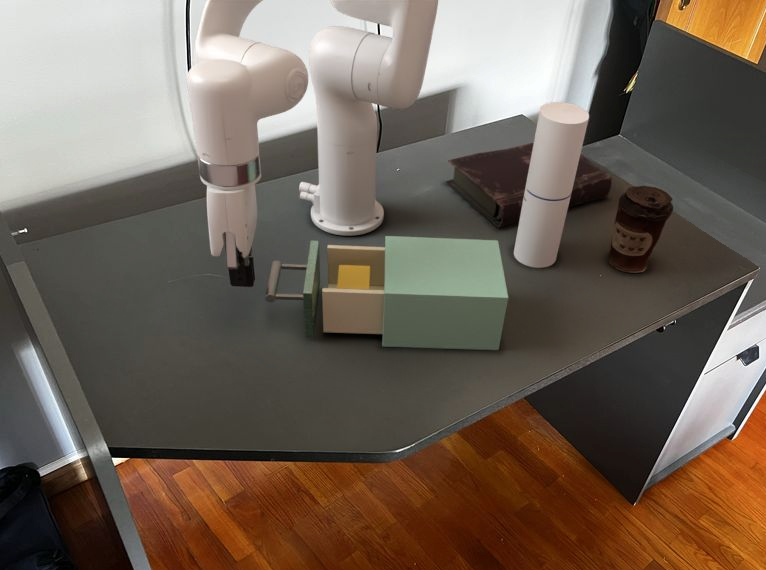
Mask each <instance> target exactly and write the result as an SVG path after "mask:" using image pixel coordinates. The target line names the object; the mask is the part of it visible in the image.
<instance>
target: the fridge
mask: <svg viewBox="0 0 766 570" xmlns="http://www.w3.org/2000/svg"><path fill="white" fill-rule="evenodd" d="M384 237H385V238H384V239H385V240H384V247H385V284H384V314H383V334H381V335H382V337H381V338H382V339H381V340H382V341H381V342H382V343H381V347H383V348H385V347H386V348H412V349H413V348H414V349H415V348H417V349H418V348H419V349H446V350H447V349H448V350H477V351H478V350H479V351H499V350H500V345H501V340H502V335H503V334H502V333H503V329H504V323H505V317H506V312H507V308H508V307H507V306H508V302H509V294H508V288H507V284H506V277H505V271H504V266H503V260H502V254H501V249H500V245H499V240H497V239H495V240H493V239H471V238H468V239H467V238H450V237H449V238H448V237H446V238H445V237H422V236H419V237H418V236H399V235H398V236H397V235H385V236H384Z"/></svg>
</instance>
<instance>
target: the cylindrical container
mask: <svg viewBox="0 0 766 570" xmlns="http://www.w3.org/2000/svg"><path fill="white" fill-rule="evenodd" d="M589 119H590V113H589V112H588V111H587V110H586V109H585V108H583V107H581V106H579V105H576V104H573V103H569V102H563V101H552V102H547V103H545V104H543V105H541V106H540V108H539V112H538V117H537V123H536V129H535V134H534V139H533V142H534V144H533V150H532V155H531V160H530V166H529V171H528V177H527V182H526V187H525V193H524V198H523V204H522V209H521V215H520V220H519V221H518V227H517V231H516V237H515V241H514V242H515V243H514V249H513V257H514V258H515V259H516V260H517V261H518V262H519V263H520V264H522V265H524V266H527V267H530V268H536V269H542V268H548V267H551V266H552V265H553V264H554V263H555V262H556V261H557V257H558V252H559V248H560V244H561V239H562V235H563V231H564V227H565V223H566V219H567V213H568V210H569V207H568V206H569V201H570V197H571V192H572V188H573V184H574V180H575V175H576V171H577V167H578V162H579V158H580V154H582V149H583V144H584V140H585V137H586V132H587V127H588V124H589V121H590V120H589Z"/></svg>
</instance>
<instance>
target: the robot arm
mask: <svg viewBox="0 0 766 570" xmlns="http://www.w3.org/2000/svg"><path fill="white" fill-rule="evenodd" d="M263 1H264V0H206V1H205V4H204V7H203V10H202V13H201V17H200V21H199V25H198V29H197V33H196V37H195V42H194V47H193V55H192V66H191V67H190V69H189V70H188V73H187V77H186V87H187V95H188V102H189V107H190V114H191V115H190V116H191V123H192V129H193V130H192V131H193V137H194V143H195V150H196V157H197V158H196V159H197V164H198V165H197V166H198V172H199V177H200V179H199V180H201V182H202V184H204V185H205V186H206V215H207V216H206V217H207V227H208V238H209V239H208V240H209V249H210V254H211V256H212V257H214V258H216V257H219V258H220V257H221V254H222V251H223V248H224V250H225V256H226V266H227V270H228V275H229V284H230V286H231V287H241V288H253V287H254V284H255V282H256V280H255V279H256V274H255V273H256V272H255V262H254V257H253V245H252V244H253V241H254V238H255V234H256V230H257V226H258V202H257V191H256V184H257V183H258V182H259V181H260V180H261V178H262V167H261V154H260V143H259V131H258V129H259V128H258V123H259V120H262V119H266V118H269V117H272V116H276V115H280V114H283V113H285V112H288V111H290V110H291V109H293V108H294V107H296V106H297V105H298V104H299V103H300V102H301V101H302V100H303V98H304V97H305V95H306V92H307V90H308V87H309V75H310V79H311V84H312V87H313V94H314V99H315V108H316V109H315V110H316V126H317V160H318V161H317V163H318V165H317V166H318V167H317V168H318V184H317V185H316V184H313V183H309V182H305V181H301V182H300V183H299V187H298V192H299V199H300V200H302V201H306V202H311V204H312V205H311V207H310V218H311V221H312V223H313V224H314V225H315V226H316V227H317V228H318V229H320V230H322V231H324V232H326V233H328V234H332V235H335V236H344V237H345V236H347V237H348V236H349V237H353V236H360V235H364V234H367V233H370V232H373V231H374V230H376V229H377V228H379V227H380V226H381V225H382V223H383V221H384V217H385V211H384V208H383V206H382V204H381V203H380V202H379V201H378V200H377V199H376V189H377V188H376V187H377V185H376V183H377V151H378V150H377V149H378V146H377V145H378V119H377V114H376V111H375V107H374V106H373V104H374V105H376V106H380V107H384V108H389V109H393V110H406V109H409V108H410V107H412V106H413V105H414V104H415V102H416V101H417V100H418V98H419V96H420V93H421V90H422V87H423V84H424V79H425V75H426V70H427V66H428V61H429V56H430V55H429V54H430V50H431V45H432V44H431V43H432V38H433V34H434V29H435V23H436V17H437V14H438V6H439V0H329V1H330V3H331V4H332V7H333V8H334V10H336V12H338V13H340V14H342V15H344V16H347V17H349V18H353V19H356V20H360V21H364V22H369V23H374V24H377V25H381V26H385V27H390V28H391V30H392V37H390V36H386V35H382V34H377V33H375V32H371V31H367V30H362V29H359V28H355V27H350V26H343V25H331V26H327V27H324V28H322V29H321V30H319V31H318V32H317V33H316V34H315V35H314V36H313V38H312V40H311V42H310V44H309V48H308V53H307V54H308V55H307V57H308V58H307V61H308V63H307V64H308V68H307V66H306V64H305V62H304V60H303V59H302V58H301V57H299V56H298V55H297V54H296V53H294V52H293V51H291V50H287V49H285V48H282V47H278V46H275V45H271V44H267V43H263V42H260V41H255V40H252V39H248V38H245V37H240V35H241V32H242V29H243V27H244V24H245V22H246V20H247V19H248V16H249V15H250V13H251V12H252V11H253V10H254V9H255V8H256V7H257V6H258V5H259V4H261V3H262V2H263ZM308 70H309V72H308Z"/></svg>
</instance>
